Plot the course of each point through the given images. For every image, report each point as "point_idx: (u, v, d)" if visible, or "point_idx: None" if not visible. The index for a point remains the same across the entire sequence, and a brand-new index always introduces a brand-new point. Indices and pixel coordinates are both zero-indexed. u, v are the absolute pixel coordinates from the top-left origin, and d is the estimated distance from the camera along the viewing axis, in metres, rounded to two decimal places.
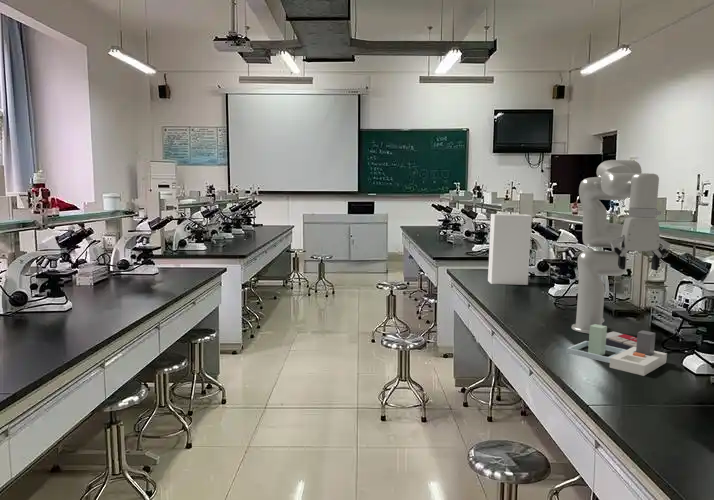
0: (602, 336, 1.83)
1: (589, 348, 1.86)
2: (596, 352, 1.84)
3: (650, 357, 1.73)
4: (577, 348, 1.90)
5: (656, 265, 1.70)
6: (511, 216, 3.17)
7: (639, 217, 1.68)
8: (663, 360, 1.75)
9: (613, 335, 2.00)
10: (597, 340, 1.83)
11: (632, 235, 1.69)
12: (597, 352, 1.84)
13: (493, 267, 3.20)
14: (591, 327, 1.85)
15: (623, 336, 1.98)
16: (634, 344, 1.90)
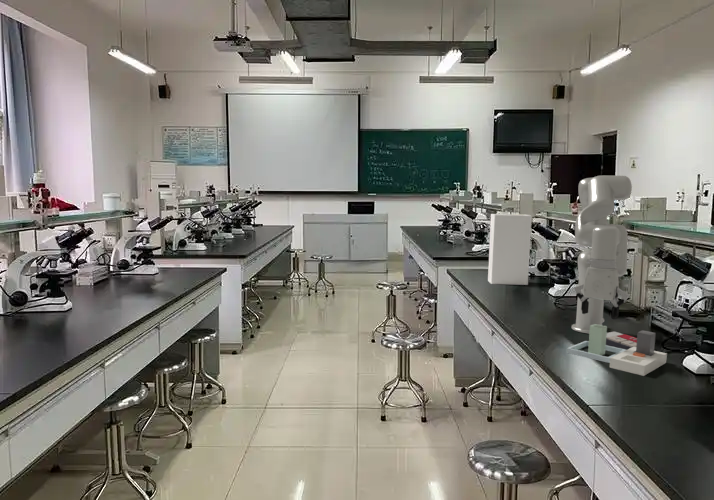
0: (602, 336, 1.83)
1: (589, 348, 1.86)
2: (596, 352, 1.84)
3: (650, 357, 1.73)
4: (577, 348, 1.90)
5: None
6: (511, 216, 3.17)
7: None
8: (663, 360, 1.75)
9: (612, 335, 2.00)
10: (597, 340, 1.83)
11: None
12: (597, 352, 1.84)
13: (493, 267, 3.20)
14: (591, 327, 1.85)
15: (622, 336, 1.98)
16: (631, 344, 1.90)
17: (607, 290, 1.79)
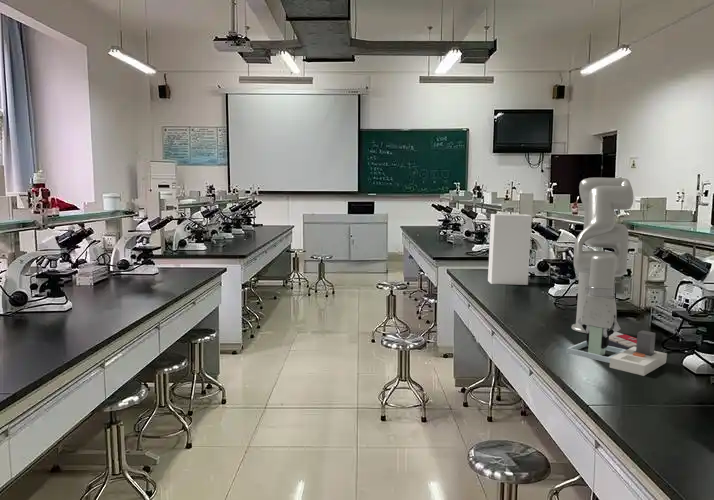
0: (602, 336, 1.83)
1: (589, 348, 1.86)
2: (596, 352, 1.84)
3: (650, 357, 1.73)
4: (577, 348, 1.90)
5: None
6: (511, 216, 3.17)
7: None
8: (663, 360, 1.75)
9: (612, 335, 2.00)
10: (597, 340, 1.83)
11: None
12: (597, 352, 1.84)
13: (493, 267, 3.20)
14: (591, 327, 1.85)
15: (622, 336, 1.98)
16: (628, 344, 1.90)
17: (605, 318, 1.80)
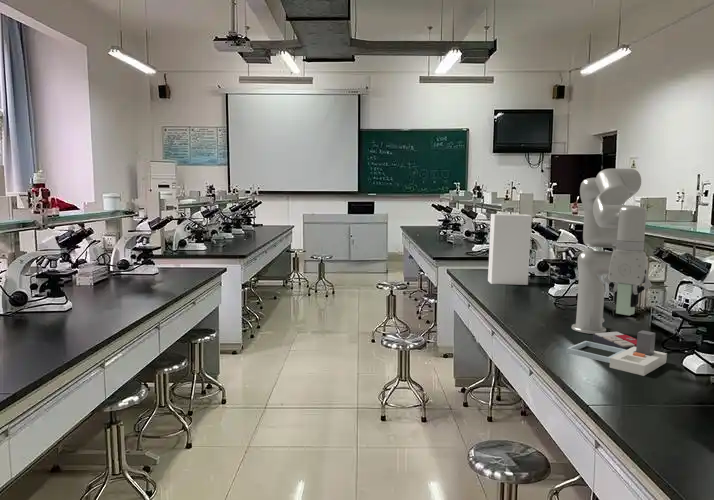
0: (631, 293, 1.70)
1: (617, 307, 1.73)
2: (625, 311, 1.71)
3: (650, 357, 1.73)
4: (577, 348, 1.90)
5: None
6: (511, 216, 3.17)
7: None
8: (663, 360, 1.75)
9: (611, 334, 2.01)
10: (626, 298, 1.71)
11: None
12: (626, 311, 1.71)
13: (493, 267, 3.20)
14: (619, 284, 1.72)
15: (621, 336, 1.99)
16: (624, 343, 1.90)
17: (635, 274, 1.68)
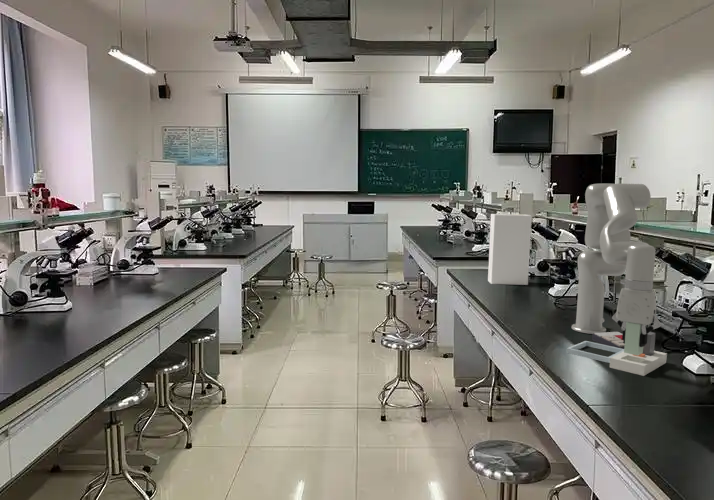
0: (640, 333, 1.67)
1: (625, 346, 1.70)
2: (633, 351, 1.68)
3: (650, 357, 1.73)
4: (577, 348, 1.90)
5: None
6: (511, 216, 3.17)
7: None
8: (663, 360, 1.75)
9: (611, 334, 2.01)
10: (634, 338, 1.68)
11: None
12: (635, 351, 1.68)
13: (493, 267, 3.20)
14: (628, 323, 1.69)
15: (620, 336, 1.99)
16: (621, 343, 1.91)
17: (644, 314, 1.65)
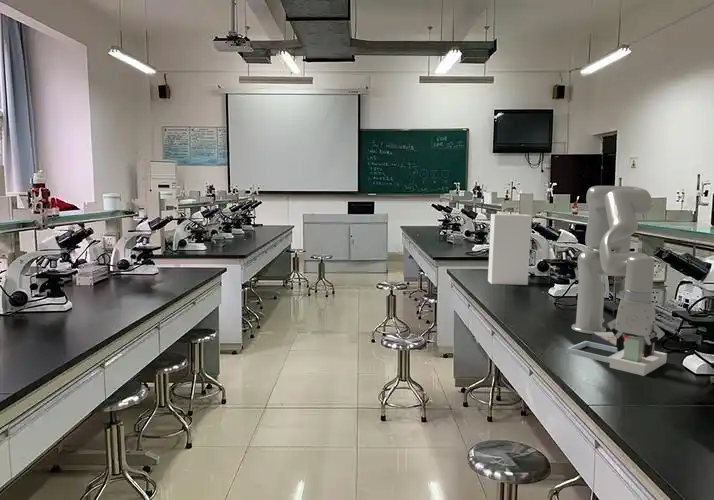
0: (638, 349, 1.68)
1: None
2: None
3: (650, 357, 1.73)
4: (577, 348, 1.90)
5: None
6: (511, 216, 3.17)
7: None
8: (663, 360, 1.75)
9: (610, 334, 2.01)
10: (633, 353, 1.69)
11: None
12: None
13: (493, 267, 3.20)
14: (626, 339, 1.70)
15: None
16: None
17: (643, 325, 1.65)
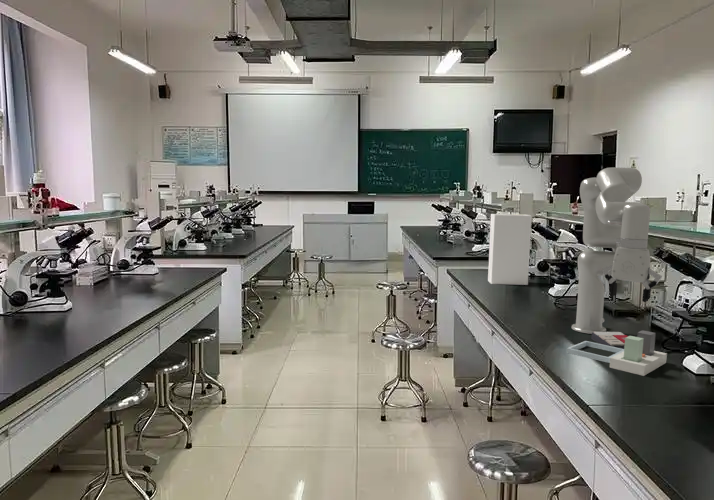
0: (638, 349, 1.68)
1: None
2: None
3: (650, 357, 1.73)
4: (577, 348, 1.90)
5: None
6: (511, 216, 3.17)
7: None
8: (663, 360, 1.75)
9: (610, 334, 2.01)
10: (633, 353, 1.69)
11: None
12: None
13: (493, 267, 3.20)
14: (626, 339, 1.70)
15: (618, 336, 1.99)
16: (613, 342, 1.92)
17: (638, 271, 1.68)
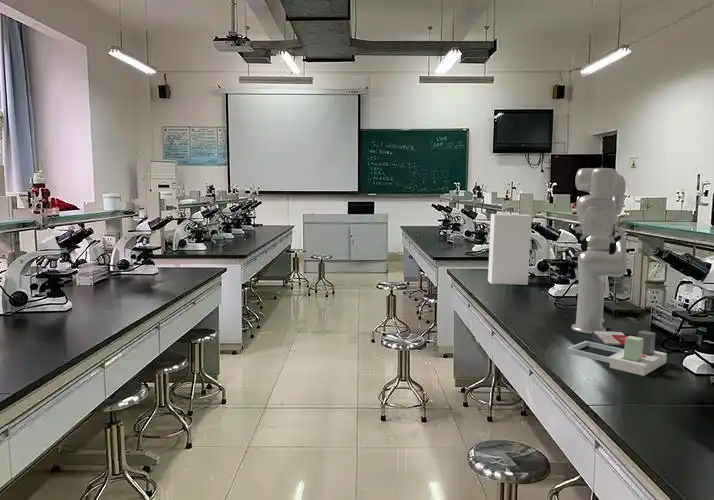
0: (638, 349, 1.68)
1: None
2: None
3: (650, 357, 1.73)
4: (577, 348, 1.90)
5: None
6: (511, 216, 3.17)
7: None
8: (663, 360, 1.75)
9: (610, 333, 2.02)
10: (633, 353, 1.69)
11: None
12: None
13: (493, 267, 3.20)
14: (626, 339, 1.70)
15: (617, 336, 1.99)
16: (609, 341, 1.93)
17: (605, 227, 1.90)
